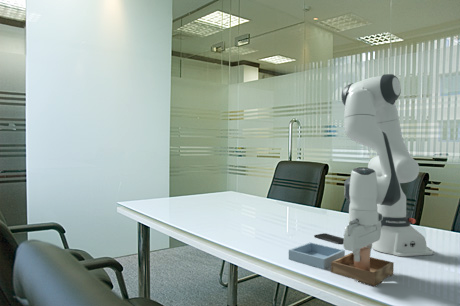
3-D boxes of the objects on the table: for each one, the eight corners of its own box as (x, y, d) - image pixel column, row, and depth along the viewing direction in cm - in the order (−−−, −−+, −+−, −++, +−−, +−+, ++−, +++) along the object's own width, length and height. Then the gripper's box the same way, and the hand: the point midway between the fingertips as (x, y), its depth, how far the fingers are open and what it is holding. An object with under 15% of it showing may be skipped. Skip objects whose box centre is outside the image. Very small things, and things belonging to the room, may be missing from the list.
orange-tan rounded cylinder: (366, 269, 119) (366, 246, 118) (372, 275, 114) (372, 250, 113) (351, 269, 119) (351, 246, 118) (356, 275, 114) (357, 250, 114)
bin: (310, 252, 139) (310, 242, 139) (344, 261, 129) (344, 250, 129) (288, 260, 129) (288, 249, 129) (323, 271, 119) (324, 259, 119)
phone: (324, 233, 167) (350, 240, 155) (324, 235, 167) (350, 242, 155) (313, 235, 163) (339, 242, 151) (313, 237, 163) (339, 245, 151)
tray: (351, 263, 126) (351, 252, 126) (393, 274, 116) (393, 262, 116) (331, 273, 116) (331, 261, 116) (374, 286, 106) (375, 273, 106)
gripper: (357, 223, 106) (357, 268, 106) (384, 214, 120) (384, 254, 121) (338, 220, 111) (338, 263, 111) (366, 211, 125) (366, 250, 125)
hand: (362, 258), depth 116 cm, fingers open, 5 cm apart
